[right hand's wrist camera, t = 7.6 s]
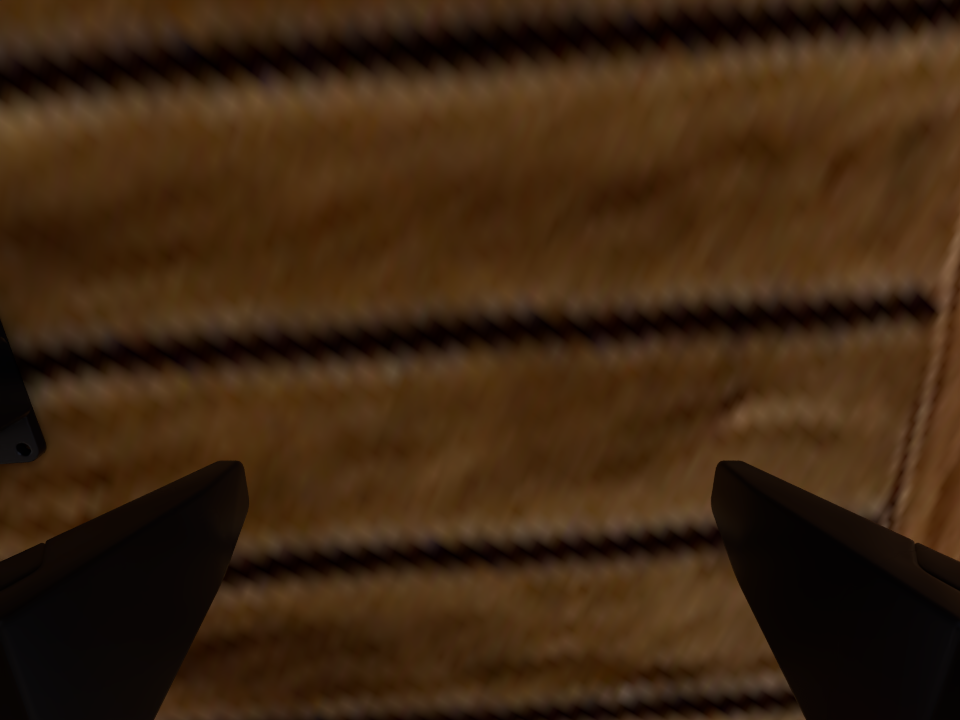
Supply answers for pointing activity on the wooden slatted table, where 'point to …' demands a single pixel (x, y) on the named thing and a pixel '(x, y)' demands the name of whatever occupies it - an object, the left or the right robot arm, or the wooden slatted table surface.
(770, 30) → the wooden slatted table surface
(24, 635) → the right robot arm
